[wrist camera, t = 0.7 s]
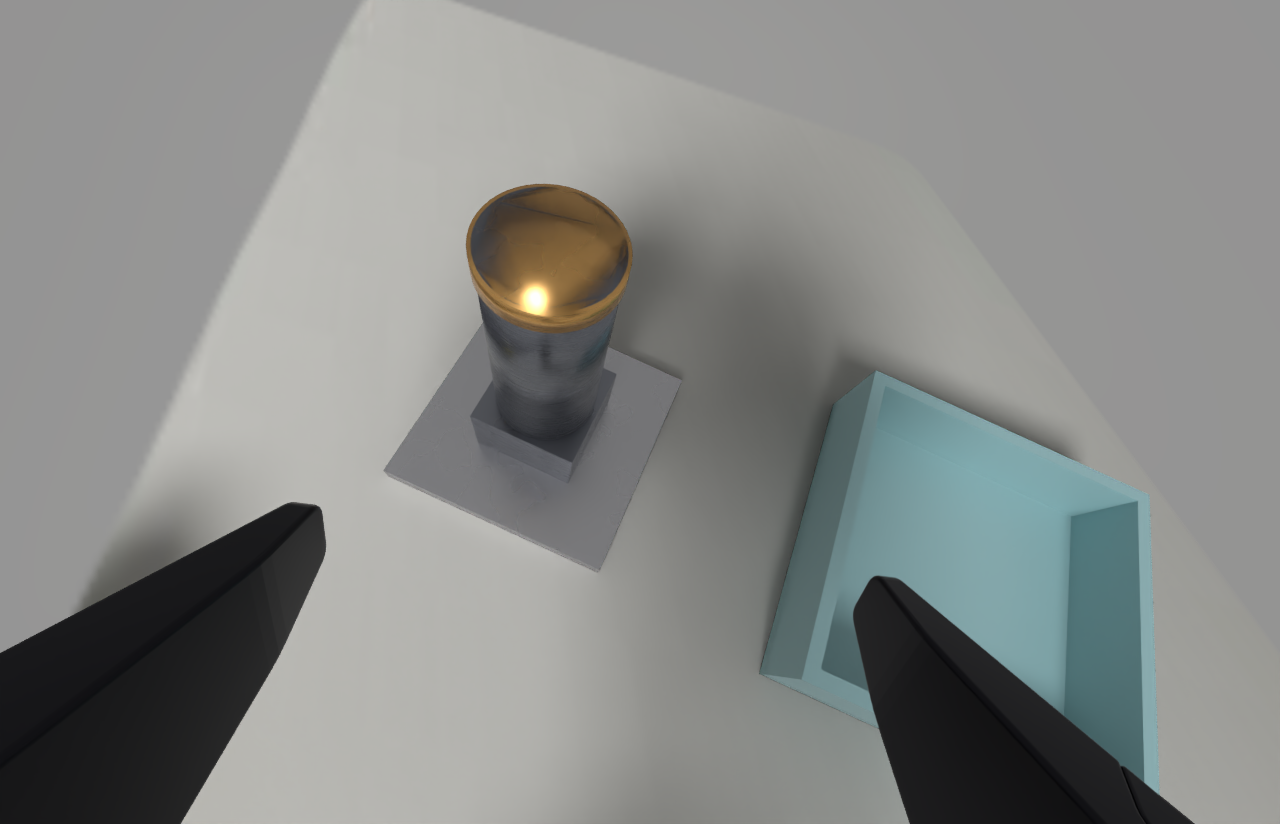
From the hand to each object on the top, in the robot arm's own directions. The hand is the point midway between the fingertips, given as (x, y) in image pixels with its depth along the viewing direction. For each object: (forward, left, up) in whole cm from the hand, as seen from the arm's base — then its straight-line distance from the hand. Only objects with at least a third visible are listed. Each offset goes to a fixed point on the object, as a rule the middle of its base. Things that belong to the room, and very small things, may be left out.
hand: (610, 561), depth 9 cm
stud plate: (+7, +4, -15) cm, 17 cm away
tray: (+8, -16, -15) cm, 23 cm away
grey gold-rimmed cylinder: (+7, +4, -14) cm, 16 cm away
